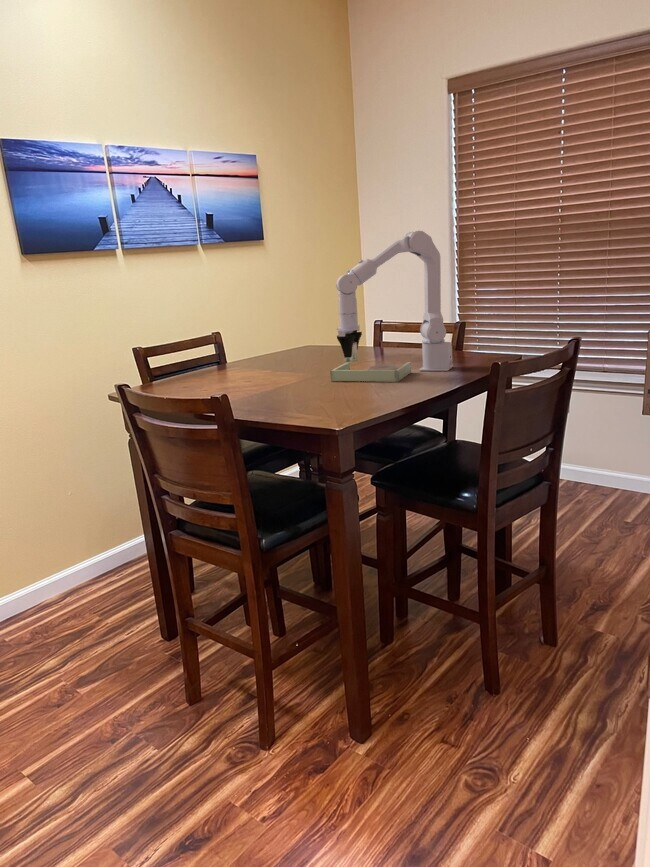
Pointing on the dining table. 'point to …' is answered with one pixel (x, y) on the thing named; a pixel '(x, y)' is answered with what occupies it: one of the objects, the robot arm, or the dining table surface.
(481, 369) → the dining table surface
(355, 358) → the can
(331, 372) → the tray
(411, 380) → the dining table surface
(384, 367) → the donut
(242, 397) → the dining table surface
